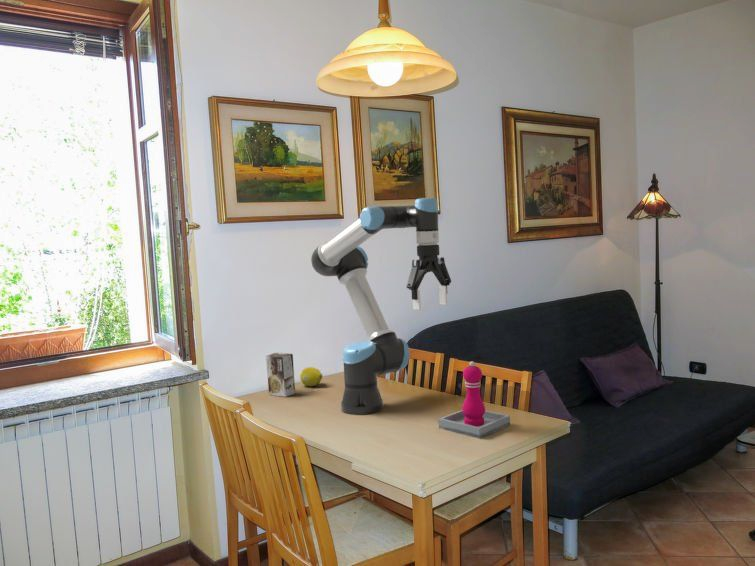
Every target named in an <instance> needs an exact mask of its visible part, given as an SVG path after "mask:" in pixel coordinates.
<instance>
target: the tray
mask: <svg viewBox="0 0 755 566" xmlns="http://www.w3.org/2000/svg"><path fill="white" fill-rule="evenodd" d="M465 417H466V416H465V415H464V414H463V412H462V409H461V410H458V411H456V412H453V413H450V414H448V415H444V416H443V417H442V416H441V417H440V418H438V429H443V430H446V431H449V432H453V433H456V434H461V435H465V436H469V437H472V438H477V439H482V438H484V437H486V436H488V435H490V434H493V433H495V432H498V431H500V430H503V429H505V428H506V427H508V426H510V425H511V416H510V414H509V415H508V414H505V413H504V414H503V413H499V412H496V411H495V412H494V411H489V410H486V409H485V413H484V415H483V416H482V417H484V424H483V425H481V426H472V425H467V424H465V423H464V418H465Z"/></svg>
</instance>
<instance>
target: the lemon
mask: <svg viewBox="0 0 755 566" xmlns="http://www.w3.org/2000/svg"><path fill="white" fill-rule="evenodd" d="M299 375H300V377H299V378H300V381H301V382H302V384H303V385H304V386H306V387H314V386H317V385H319V383H320V382H321V381H322V379H323V374H322V373H321V370H319V369H318V368H316V367H313V366H312V367H311V366H310V367H309V366H307V367H305V368H304V369H303V370H301V373H300V374H299Z"/></svg>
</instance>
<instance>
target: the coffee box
mask: <svg viewBox="0 0 755 566" xmlns="http://www.w3.org/2000/svg"><path fill="white" fill-rule="evenodd" d="M265 360H266V363H265V364H266V373H267V387H268V395H269V396H275V397H276V396H277V397H285V398H287V397H289V396H292V395H294V394H296V387H295V386H296V384H295V382H296V381H295V368H294V355H293V353H286V352H285V353H284V352H274V353H271V354H268V355H266V356H265Z"/></svg>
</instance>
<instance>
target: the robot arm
mask: <svg viewBox="0 0 755 566" xmlns="http://www.w3.org/2000/svg"><path fill="white" fill-rule="evenodd" d="M405 228H407V229H408V228H415V233H416V234H415V235H416V238H415V239H416V244H418V245H417V246H416V254H417V257H418V259H412V261H411V262H412V263H411V270H410V273H409V276H408V280H407V283H406V289H408V290H410V291H411V300H412V309H413V310H418V311H419V310H421V309H422V308H421V304H422V303H421V290H420V289H419V287H420V286H421V283H422V281H423V279H424V277H425V276H426V274H428V273H433V275H434V276H435V279H437V281H438V282H439V284H440V285H438V293H439V295H438V296H439V305H443V306H444V305H445V306H447V305H448V286H450V285H451V283H452V279H451V277H450V274H449V272H448V268H447V266H446V263H445V257H444V256H443V257H442V256H440V245H439V242H440V239H439V207H438V200H437V199H436V198H434V197H421V198H416V199H415V200H414V205H392V206H391V205H387V206H385V205H384V206H383V205H381V206H378V205H375V206H374V205H372V206H367V207H364V208H363V209H362V210H361V213H360V214H359V218H358V219H357V220H356V221H354V222H353V223H352V224H350V225H349V226H348V227H346V228H345V229H344V230H343V231H341V232H340V233H339V234H337V235H336V236H335V237H334V238H332V239H331V240H330V241H327V242H326V241H325V242H322V243H320V245H318V246H317V247H316V248H315V249H314V250H313V252H312V255H311V258H310V262H311V265H312V266H311V267H312V268H313V269H314V271H315V272H316V273H317V274H318V275H321V276H322V277H337V279H338V281H339V283H340V284H341V285H344V286H345V288H346V290H347V293H348V296H349V297H350V299H351V301H352V304H353V307H354V308H355V312H356V313H357V316H358V317H359V321H360V323H361V325H362V327H363V330H364V332H365V334H366V336H367V340H362V341H356V342H353V343H350V344H348V345H346V346H345V347H344V349H343V350H342V351H343V352H342V355H343V356H342V357H343V358H342V362H343V375H344V391H343V395H342V400H341V402H340V410H341V412H344V413H345V414H351V415H364V414H365V415H367V414H373V413H376V412H379V411H381V410H382V409H384V401H383V399H382V396H381V393H380V390H379V386H378V377H379V376H382V375H383V376H384V375H386V374H391V373H397V372H398V371H400V370H403V369H405V368H406V366H408V363H409V361H410V357H411V356H410V355H411V353H410V352H411V351H410V347H409V345H408V343H407V342H406V341H405V340H403V339H402V338H398V337H397V334H396V332H395V331H394V330H391V329H389V327H388V324H387V322H386V319H385V317H384V315H383V313H382V310H381V309H380V306H379V304H378V302H377V300H376V297H375V295H374V292H373V290H372V288H371V286H370V284H369V282H368V279H367V273H368V270H367V269H368V265H369V262H368V261H369V257H368V255H367V253H366V251H365V250H364V248H363V247H361V246H360V245H362V244H363V243H364V242H366V241H367V240H369V239H371V238H372V237H373V236H374V235H376V234H377V233H379V232H380V231H381V230H386V229H387V230H388V229H405ZM438 256H439V257H438Z"/></svg>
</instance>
